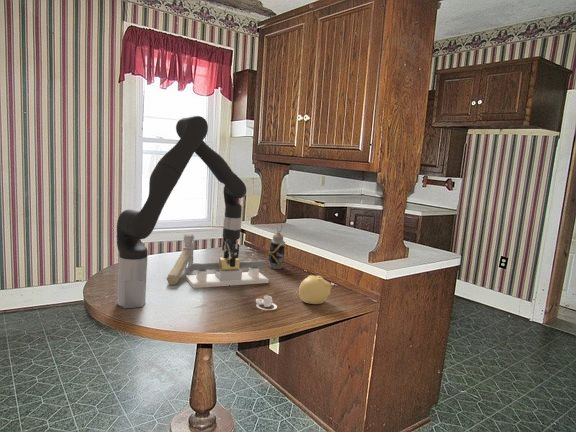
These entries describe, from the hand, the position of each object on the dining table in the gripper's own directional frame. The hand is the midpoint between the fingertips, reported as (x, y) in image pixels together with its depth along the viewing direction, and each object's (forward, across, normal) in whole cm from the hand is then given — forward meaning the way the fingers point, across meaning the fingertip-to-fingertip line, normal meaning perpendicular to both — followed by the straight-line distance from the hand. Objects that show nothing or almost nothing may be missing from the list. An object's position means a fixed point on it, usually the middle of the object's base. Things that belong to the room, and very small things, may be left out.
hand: (229, 263), depth 179 cm
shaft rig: (+8, 0, 0) cm, 8 cm away
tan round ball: (+8, +31, +25) cm, 41 cm away
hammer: (+8, -12, -18) cm, 23 cm away
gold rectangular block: (+4, 0, 0) cm, 4 cm away
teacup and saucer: (+8, +28, +6) cm, 30 cm away
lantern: (+8, -16, +31) cm, 36 cm away
